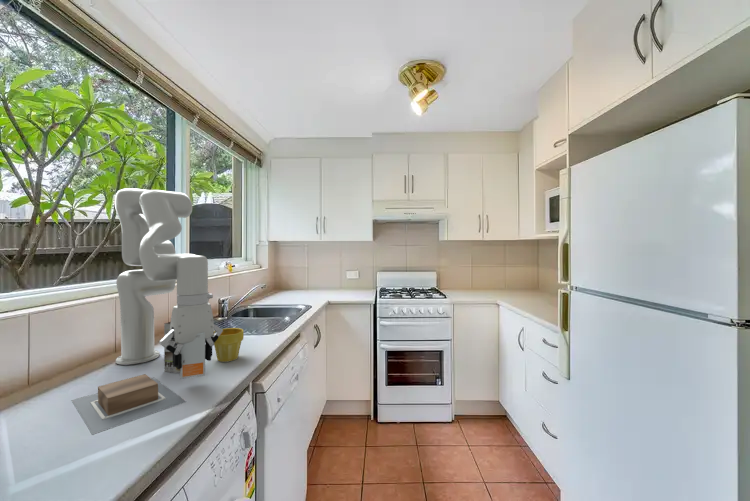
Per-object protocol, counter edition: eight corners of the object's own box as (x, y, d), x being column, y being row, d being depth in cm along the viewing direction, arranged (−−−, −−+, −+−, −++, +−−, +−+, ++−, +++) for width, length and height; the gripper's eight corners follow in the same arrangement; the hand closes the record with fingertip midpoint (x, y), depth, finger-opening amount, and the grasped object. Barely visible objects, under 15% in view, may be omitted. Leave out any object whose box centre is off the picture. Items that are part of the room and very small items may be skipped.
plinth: (98, 402, 81) (97, 386, 80) (145, 388, 88) (145, 374, 88) (108, 415, 74) (107, 398, 74) (158, 399, 82) (158, 383, 82)
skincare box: (180, 379, 87) (179, 335, 86) (181, 373, 90) (180, 331, 90) (205, 375, 89) (205, 332, 89) (205, 370, 93) (205, 328, 93)
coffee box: (181, 376, 99) (180, 324, 99) (163, 374, 100) (162, 323, 100) (202, 365, 108) (202, 317, 108) (186, 364, 109) (185, 316, 109)
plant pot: (249, 354, 118) (249, 328, 118) (232, 364, 108) (232, 335, 108) (224, 353, 120) (223, 326, 120) (205, 363, 110) (204, 334, 110)
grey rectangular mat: (71, 404, 82) (71, 399, 82) (153, 380, 96) (153, 376, 96) (92, 439, 67) (92, 433, 67) (186, 405, 81) (186, 400, 81)
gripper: (218, 294, 98) (218, 352, 99) (151, 302, 85) (152, 369, 85) (230, 297, 94) (230, 358, 94) (161, 306, 80) (162, 377, 81)
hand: (193, 363), depth 90 cm, fingers closed on skincare box, 7 cm apart
